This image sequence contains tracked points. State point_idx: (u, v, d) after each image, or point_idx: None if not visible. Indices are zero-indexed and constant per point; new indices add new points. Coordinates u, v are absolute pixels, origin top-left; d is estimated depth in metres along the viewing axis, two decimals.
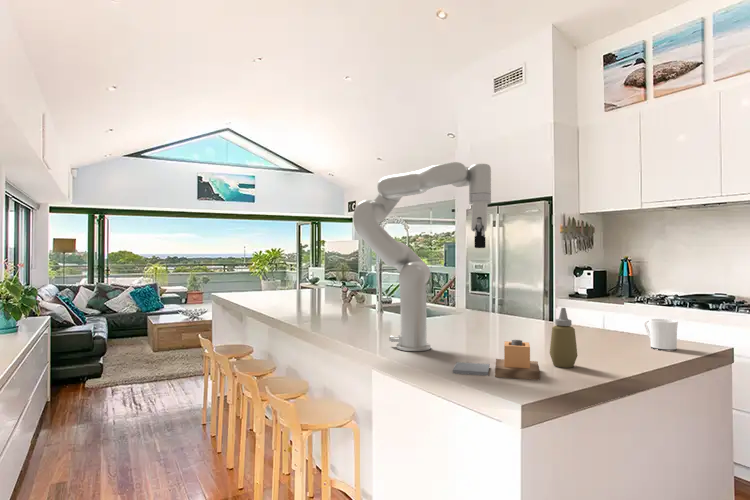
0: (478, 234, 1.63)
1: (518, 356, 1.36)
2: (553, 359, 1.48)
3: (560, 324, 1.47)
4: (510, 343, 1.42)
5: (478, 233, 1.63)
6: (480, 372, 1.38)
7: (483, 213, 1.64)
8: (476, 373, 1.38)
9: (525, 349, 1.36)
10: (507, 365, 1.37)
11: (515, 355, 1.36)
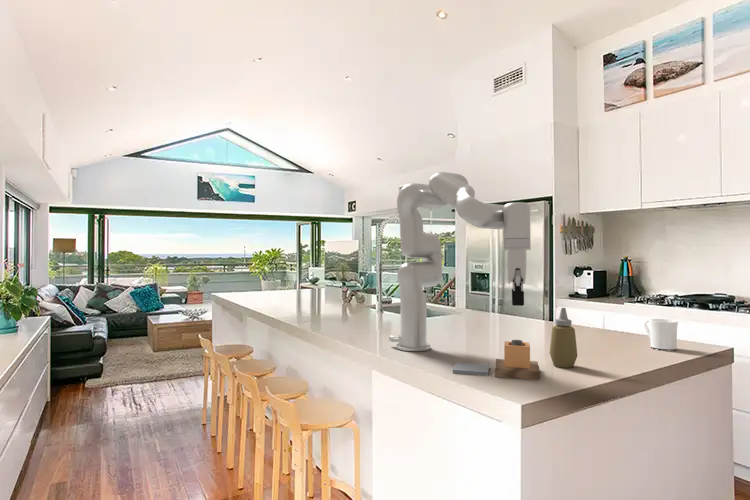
0: (517, 289, 1.33)
1: (518, 356, 1.36)
2: (553, 359, 1.48)
3: (560, 324, 1.47)
4: (510, 343, 1.42)
5: (517, 288, 1.33)
6: (480, 372, 1.38)
7: (522, 263, 1.35)
8: (476, 373, 1.38)
9: (525, 349, 1.36)
10: (507, 365, 1.37)
11: (515, 355, 1.36)
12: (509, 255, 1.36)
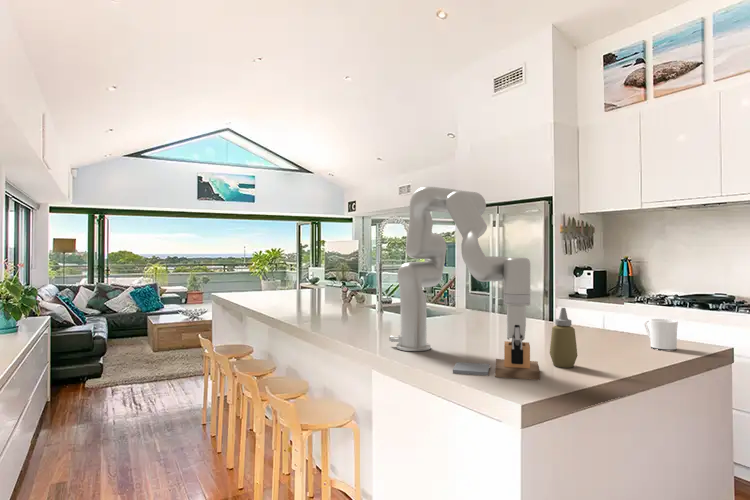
0: (516, 348, 1.35)
1: None
2: (553, 359, 1.48)
3: (560, 324, 1.47)
4: (510, 343, 1.42)
5: (516, 347, 1.34)
6: (480, 372, 1.38)
7: (522, 320, 1.35)
8: (476, 373, 1.38)
9: (525, 349, 1.36)
10: (507, 365, 1.37)
11: None
12: (509, 311, 1.36)
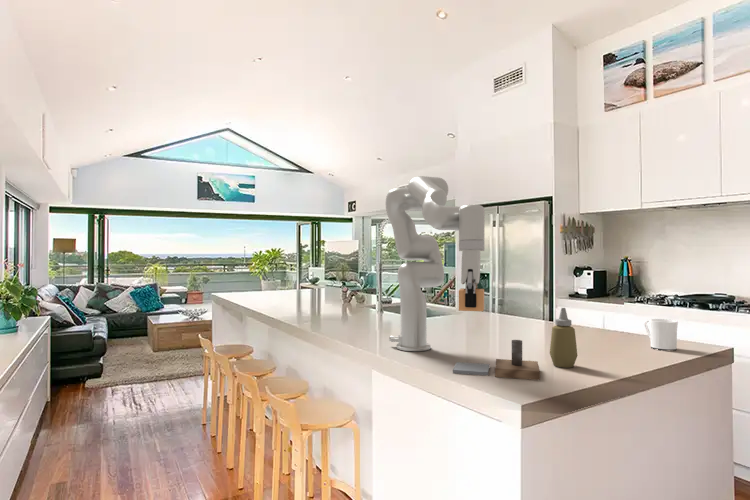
0: (469, 292, 1.38)
1: None
2: (553, 359, 1.48)
3: (560, 324, 1.47)
4: None
5: (469, 291, 1.38)
6: (480, 372, 1.38)
7: (475, 264, 1.38)
8: (476, 373, 1.38)
9: (478, 293, 1.39)
10: (461, 309, 1.41)
11: None
12: (462, 256, 1.40)
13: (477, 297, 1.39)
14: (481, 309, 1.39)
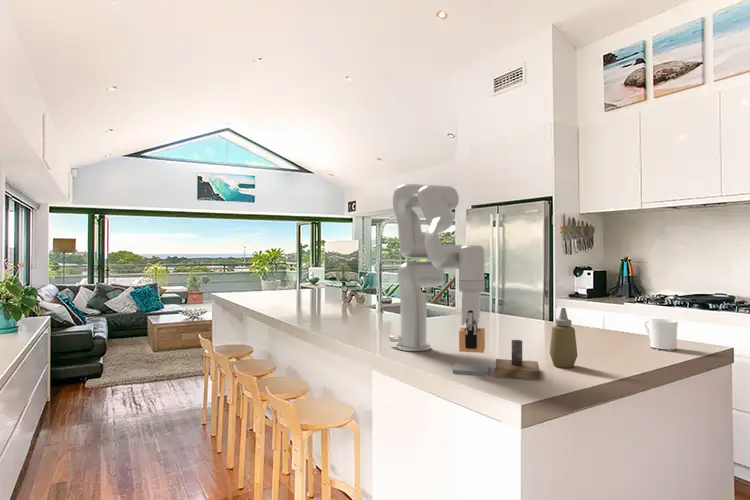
0: (469, 333, 1.38)
1: None
2: (553, 359, 1.48)
3: (560, 324, 1.47)
4: None
5: (469, 332, 1.38)
6: (480, 372, 1.38)
7: (475, 306, 1.38)
8: (476, 373, 1.38)
9: (479, 334, 1.39)
10: (462, 350, 1.40)
11: None
12: (463, 297, 1.40)
13: (477, 338, 1.39)
14: (482, 350, 1.39)
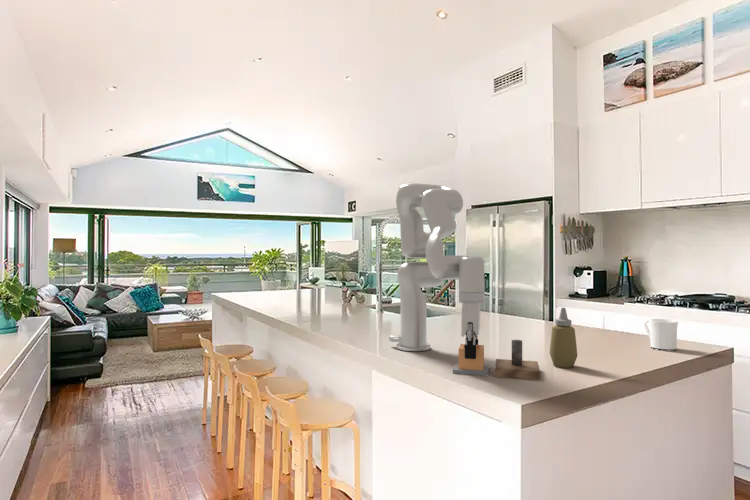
0: (469, 343, 1.37)
1: None
2: (553, 359, 1.48)
3: (560, 324, 1.47)
4: None
5: (469, 342, 1.37)
6: (480, 372, 1.38)
7: (475, 317, 1.38)
8: (476, 373, 1.38)
9: (478, 352, 1.39)
10: (461, 367, 1.41)
11: None
12: (462, 309, 1.40)
13: (477, 356, 1.39)
14: (481, 368, 1.39)
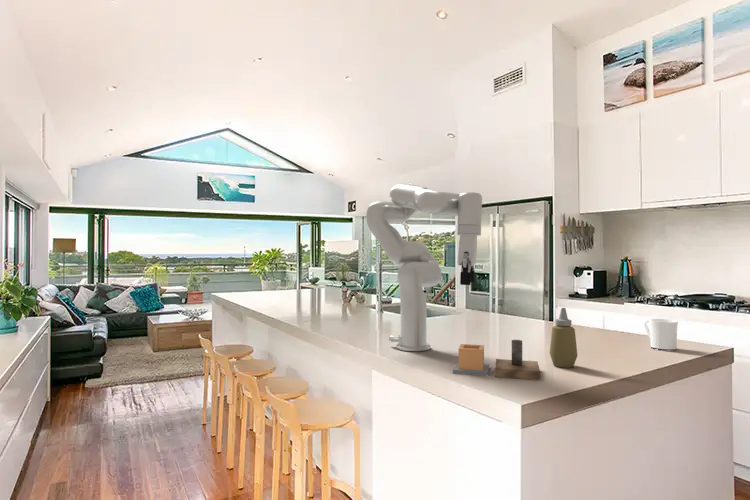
0: (464, 270, 1.50)
1: (471, 358, 1.40)
2: (553, 359, 1.48)
3: (560, 324, 1.47)
4: (466, 346, 1.46)
5: (464, 269, 1.49)
6: (480, 372, 1.38)
7: (471, 247, 1.50)
8: (476, 373, 1.38)
9: (478, 352, 1.39)
10: (461, 367, 1.41)
11: (469, 357, 1.40)
12: (460, 240, 1.52)
13: (477, 356, 1.39)
14: (481, 368, 1.39)
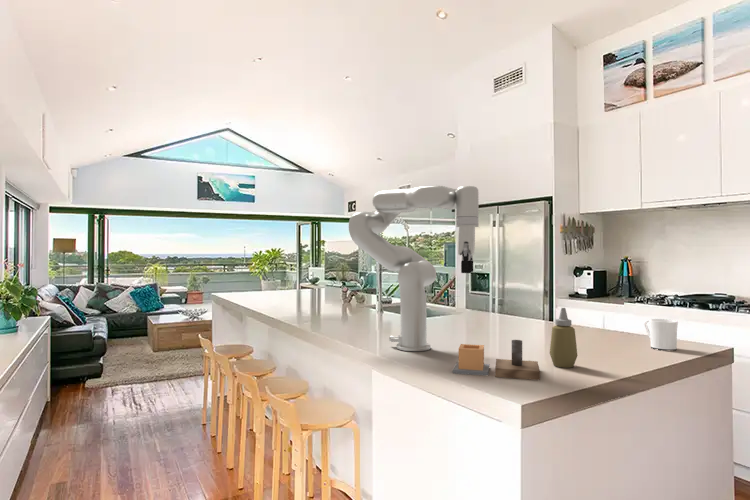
0: (465, 259, 1.58)
1: (471, 358, 1.40)
2: (553, 359, 1.48)
3: (560, 324, 1.47)
4: (466, 346, 1.46)
5: (465, 258, 1.58)
6: (480, 372, 1.38)
7: (470, 237, 1.59)
8: (476, 373, 1.38)
9: (478, 352, 1.39)
10: (461, 367, 1.41)
11: (469, 357, 1.40)
12: (459, 230, 1.61)
13: (477, 356, 1.39)
14: (481, 368, 1.39)
